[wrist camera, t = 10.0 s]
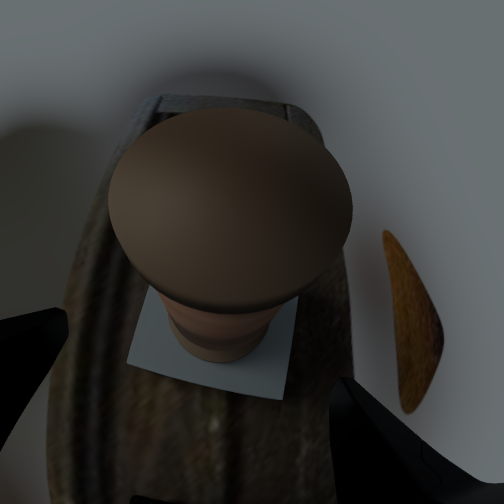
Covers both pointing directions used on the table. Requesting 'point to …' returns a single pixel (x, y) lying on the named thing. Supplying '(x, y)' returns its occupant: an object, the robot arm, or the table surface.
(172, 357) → the grey bridge block
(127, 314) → the table surface
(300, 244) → the brown flanged cylinder
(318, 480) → the table surface
